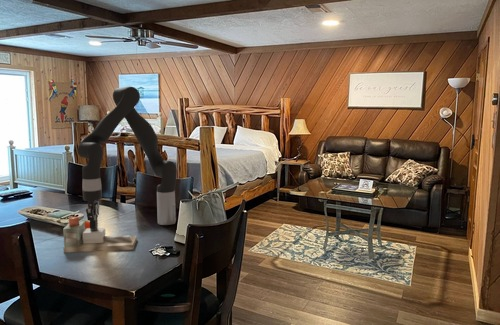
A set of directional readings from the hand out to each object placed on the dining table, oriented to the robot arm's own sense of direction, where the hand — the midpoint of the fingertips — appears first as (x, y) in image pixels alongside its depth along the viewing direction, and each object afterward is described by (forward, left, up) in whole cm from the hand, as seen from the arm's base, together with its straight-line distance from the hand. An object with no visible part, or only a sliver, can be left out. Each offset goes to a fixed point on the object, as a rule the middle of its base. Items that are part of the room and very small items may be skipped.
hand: (93, 227), depth 166 cm
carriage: (0, 0, -6) cm, 6 cm away
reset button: (+8, 0, 0) cm, 8 cm away
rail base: (-3, 0, -9) cm, 9 cm away
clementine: (+8, -16, -9) cm, 20 cm away
